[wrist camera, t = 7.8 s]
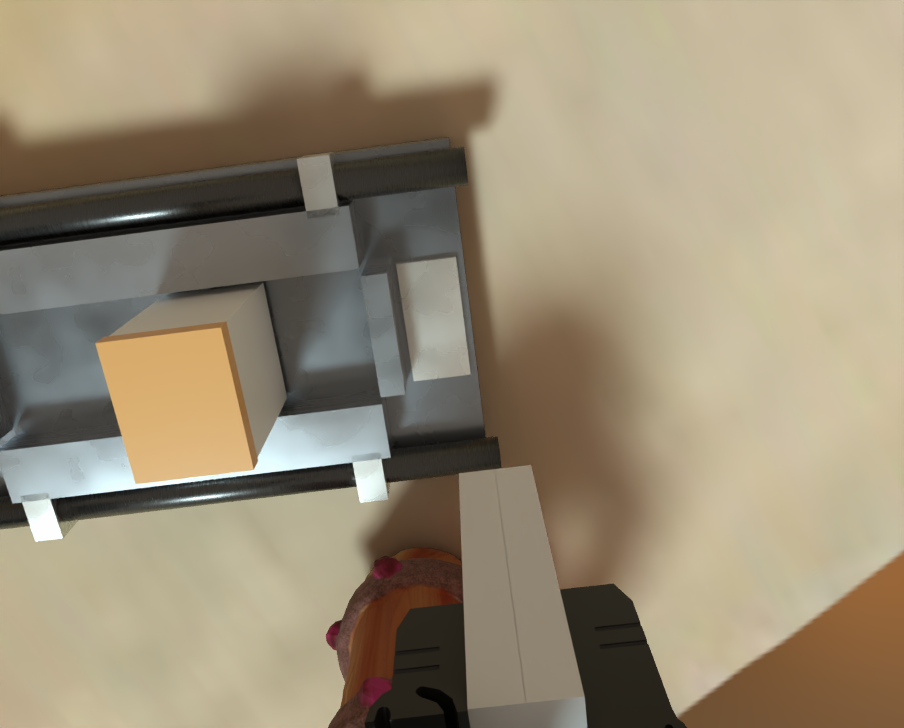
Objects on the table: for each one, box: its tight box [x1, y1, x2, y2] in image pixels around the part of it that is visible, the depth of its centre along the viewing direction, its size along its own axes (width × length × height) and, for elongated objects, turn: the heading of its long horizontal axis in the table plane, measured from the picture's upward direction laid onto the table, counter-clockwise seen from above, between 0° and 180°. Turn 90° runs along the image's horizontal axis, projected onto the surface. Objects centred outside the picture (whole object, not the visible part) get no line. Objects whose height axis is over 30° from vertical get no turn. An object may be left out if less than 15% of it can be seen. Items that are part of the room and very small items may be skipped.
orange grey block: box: [95, 282, 287, 484], centre depth 29 cm, size 4×5×7 cm
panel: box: [0, 137, 501, 542], centre depth 33 cm, size 25×14×3 cm, turn 97°
